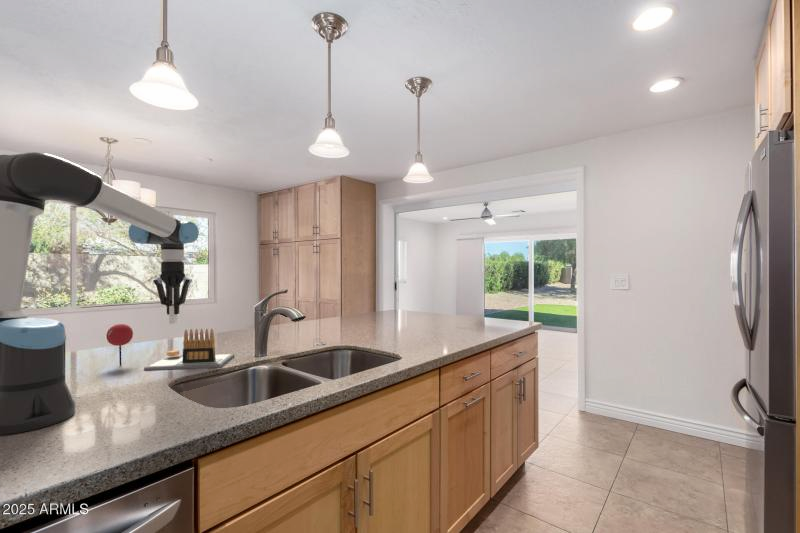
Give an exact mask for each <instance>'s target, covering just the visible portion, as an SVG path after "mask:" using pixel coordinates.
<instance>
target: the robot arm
mask: <svg viewBox="0 0 800 533" xmlns="http://www.w3.org/2000/svg"><path fill="white" fill-rule="evenodd" d="M46 201H61V202H66V203H70V204H73V205H75V206H77V207H81V208H83V207H85V208H86V207H90V208H93V209H95V210H97V211H100V212H102V213H104V214H106V215H109V216H111V217H114V218H115V219H118V220H121V221H122V222H125V223H127V224H130V226H129V227H128V229H127V230H128V231H127V232H128V234H127V235H128V237H129V240H131V242H133V243H135V244H141V245H159V246H160V260H161V262H160V275H159V277H158V278H156V279H153V280H152V281H153V283H154V285H155V286H156V290H157V293H158V297H159V300H160V301H159V302H160V304H161V305H164V306H166V314H167V315H169V316H168V317H169V318H168V320H169V322H168V324H169V325H170V324H171V325H172V324H177V323H178V315H179V314H180V306H181V305H183V304H185V302H186V298H187V295H188V290H189V287H190V285H191V283H192V282H193V279H191V278H188V277H186V274H185V262H184V260H185V250H184V249H185V248H184V247H185V246H184V245H186V244H192V243H195V242H196V241H197V240H198V237H199V234H200V231H199V228H198V225H197V224H196V223H194V222H193V221H187V220H183V221H182V220H179V219H177V218H175V217H173V216H171V215H169V214H167V213H165V212H163V211H161V210H159V209H157V208H155V207H153V206H152V205H149V204H147V203H145V202H144V201H141V200H139V199H138V198H135V197H133V196H131V195H129V194H128V193H126V192H124V191H122V190H120V189H118V188H116V187H114V186H112V185H110V184H107V183H106V182H104V180H103V179H102V177H101V176H100V175H98V174H97V173H94V172H92V171H91V170H89V169H87V168H86V167H85V168H84V167H82V166H80V165H79V164H76V163H74V162H71V161H69V160H67V159H64V158H62V157H59V156H56V155H54V154H50V153H43V152H24V153H17V154H0V436H2V435H12V434H19V433H26V432H29V431H30V432H31V431H34V430H38V429H42V428H46V427H49V426H51V425H52V426H53V425H55V424H58V423H61V422H63V421H65V420H67V419H70V418H72V416H74V415H75V414H76V402H75V400H74V399H73V396H72V393H71V391H70V389H69V386H68V385H67V383H66V340H67V334H66V327H65V324H64V323H63V322H61V321H60V320H56V319H52V318H45V317H44V318H42V317H40V318H36V317H28V315H27V314H26V313H25V312H23V311H22V309H21V307H22V302H23V296H24V288H25V282H26V276H27V269H28V262H29V257H30V250H31V245H32V237H33V230H34V223H35V219H36V218H37V217H39V216H40V215H42V214H44V213H45V207H46V206H45V205H46ZM182 282H183V284H182ZM163 283H164V284H165V288H164V285H163ZM181 284H182V288H181ZM180 288H181V289H180ZM180 290H181V292H180Z"/></svg>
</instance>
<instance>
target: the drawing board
mask: <svg viewBox="0 0 800 533" xmlns="http://www.w3.org/2000/svg"><path fill="white" fill-rule="evenodd" d="M234 357H235V353H224V354H223V353H220V354H216V353H215V358H216V360H215V361H214V362H200V363H182V360H183V354H182V355H175V356H167V355H166V356H164V357H162V358H160V359H157V361H156V360H155V362H152V363H151V364H150V363H149V364H148V365H146V366H144V367H143V370H144V371H159V370H181V369H182V370H183V369H207V368H221V367H223V366H224V365H225V364H226V363H228V362H229V361H230V360H231V359H233V358H234Z"/></svg>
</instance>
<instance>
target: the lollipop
mask: <svg viewBox="0 0 800 533" xmlns="http://www.w3.org/2000/svg"><path fill="white" fill-rule="evenodd" d="M133 336H134V332H133V328H132V327H131V326H129V325H127V324H124V323H118V324H115V325H112V326H111V327H110V328H108V330H107V332H106V340H107V342H108V343H109V344H111V346H114V347H115V346H117V347H119V348H118V349H119V350H118V351H119V355H118V356H119V365H121V366H122V346H125V345H127V344H128V343H129V342H131V341H132V339H133Z"/></svg>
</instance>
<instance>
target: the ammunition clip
mask: <svg viewBox="0 0 800 533" xmlns="http://www.w3.org/2000/svg"><path fill="white" fill-rule="evenodd" d="M193 332H194V333H193ZM215 354H216V347H215V336H214V330H213V328H211V329H210V333H209V329H208V328H206V329H205V331H204V330H203V328H200V332H199V331H198V328H196V329H195V331H193V329H190V330H189V333H188V329H185V330H184V333H183V349H182V355H183V360H182V363H200V362H214V361H215V360H216V358H215Z"/></svg>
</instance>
